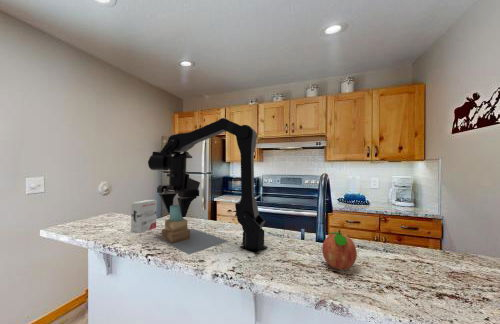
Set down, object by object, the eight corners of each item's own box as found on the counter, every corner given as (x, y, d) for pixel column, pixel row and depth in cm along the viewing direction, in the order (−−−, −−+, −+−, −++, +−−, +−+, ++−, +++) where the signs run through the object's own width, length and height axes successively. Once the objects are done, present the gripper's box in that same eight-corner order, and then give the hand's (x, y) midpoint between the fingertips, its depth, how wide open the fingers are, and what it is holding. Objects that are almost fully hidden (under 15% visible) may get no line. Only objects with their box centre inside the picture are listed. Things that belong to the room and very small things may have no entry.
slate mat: (228, 242, 76) (228, 241, 76) (188, 255, 64) (189, 254, 64) (192, 229, 90) (192, 228, 90) (154, 238, 78) (154, 237, 78)
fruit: (353, 262, 62) (353, 227, 62) (360, 278, 53) (360, 237, 53) (321, 258, 64) (322, 224, 65) (322, 272, 55) (323, 233, 56)
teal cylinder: (185, 220, 78) (186, 206, 78) (173, 222, 74) (174, 207, 74) (178, 217, 81) (179, 204, 81) (167, 219, 77) (167, 205, 77)
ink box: (147, 227, 92) (148, 199, 92) (156, 228, 90) (157, 199, 91) (129, 232, 84) (130, 201, 84) (139, 234, 82) (140, 203, 83)
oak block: (187, 229, 78) (187, 220, 78) (172, 232, 73) (173, 222, 73) (178, 226, 81) (179, 217, 81) (164, 229, 77) (165, 219, 77)
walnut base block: (190, 238, 78) (190, 229, 78) (171, 243, 72) (172, 233, 72) (179, 234, 82) (179, 225, 82) (161, 238, 77) (161, 229, 77)
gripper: (212, 171, 78) (211, 215, 77) (183, 170, 90) (182, 208, 90) (184, 171, 69) (183, 221, 69) (157, 170, 81) (155, 212, 81)
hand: (176, 214), depth 77 cm, fingers open, 9 cm apart
